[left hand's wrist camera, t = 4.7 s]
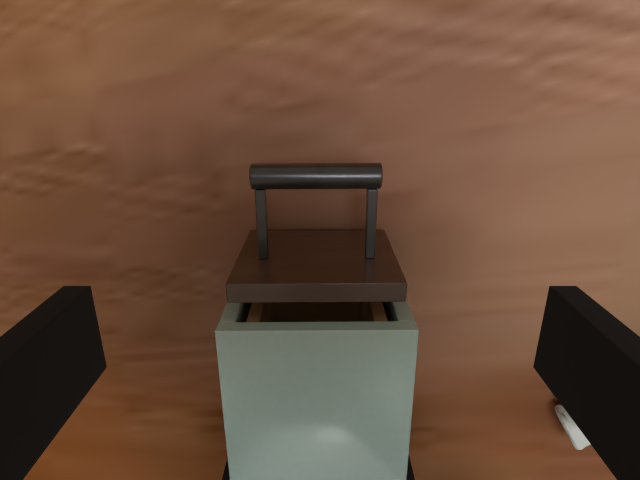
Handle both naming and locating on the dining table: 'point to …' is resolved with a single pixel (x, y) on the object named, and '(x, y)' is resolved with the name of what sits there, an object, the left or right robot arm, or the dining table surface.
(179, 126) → the dining table surface
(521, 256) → the dining table surface
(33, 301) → the dining table surface
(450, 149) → the dining table surface
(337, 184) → the drawer
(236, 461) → the pale green box
